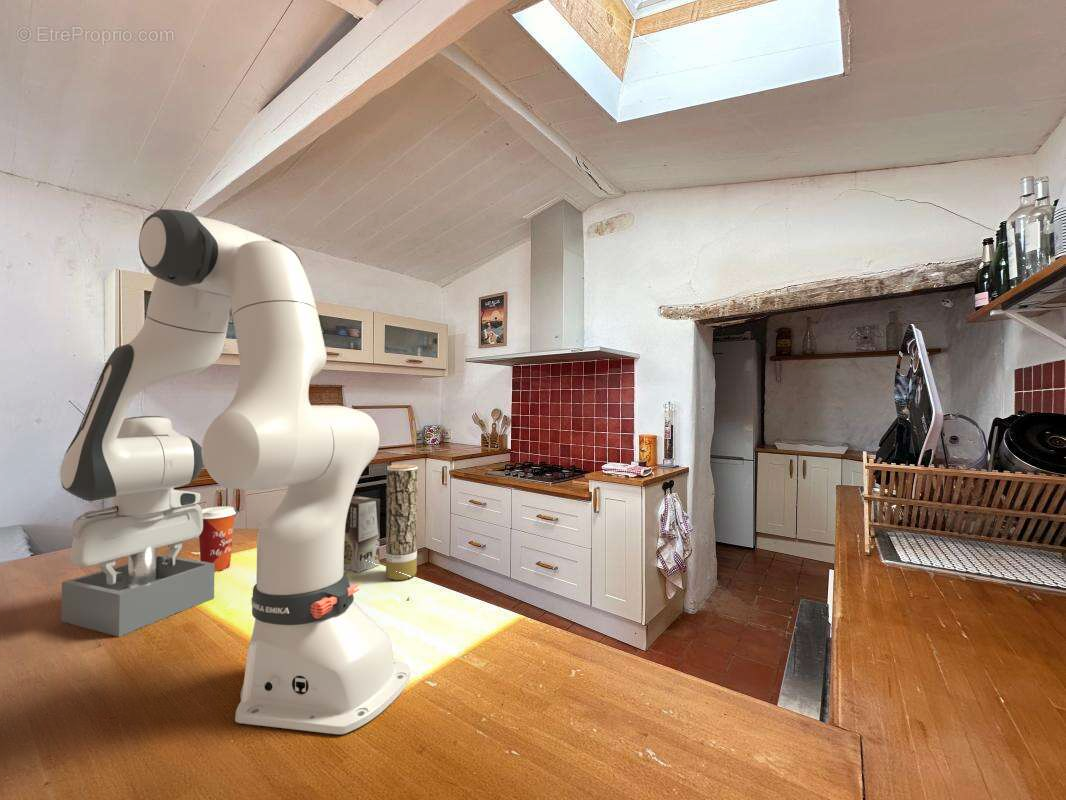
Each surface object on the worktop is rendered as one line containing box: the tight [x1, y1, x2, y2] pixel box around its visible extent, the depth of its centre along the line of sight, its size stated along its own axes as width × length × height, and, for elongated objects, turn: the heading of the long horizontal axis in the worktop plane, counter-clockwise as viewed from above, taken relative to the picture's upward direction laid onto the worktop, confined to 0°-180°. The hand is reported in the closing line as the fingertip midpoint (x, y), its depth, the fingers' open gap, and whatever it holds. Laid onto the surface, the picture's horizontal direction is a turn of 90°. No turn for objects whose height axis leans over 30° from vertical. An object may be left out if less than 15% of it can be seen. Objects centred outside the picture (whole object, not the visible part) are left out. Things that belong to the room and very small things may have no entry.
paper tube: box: [385, 463, 419, 581], centre depth 103 cm, size 7×7×25 cm
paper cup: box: [198, 505, 237, 573], centre depth 107 cm, size 8×8×14 cm
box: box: [60, 554, 215, 638], centre depth 86 cm, size 16×16×7 cm
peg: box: [127, 546, 157, 590], centre depth 86 cm, size 4×4×12 cm
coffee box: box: [344, 495, 381, 573], centre depth 110 cm, size 9×6×16 cm
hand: (142, 574), depth 86 cm, fingers open, 8 cm apart
